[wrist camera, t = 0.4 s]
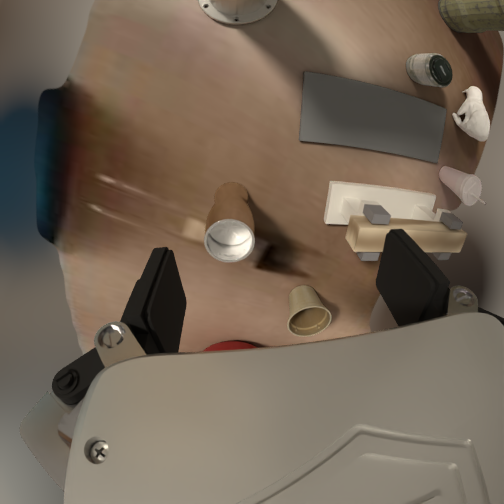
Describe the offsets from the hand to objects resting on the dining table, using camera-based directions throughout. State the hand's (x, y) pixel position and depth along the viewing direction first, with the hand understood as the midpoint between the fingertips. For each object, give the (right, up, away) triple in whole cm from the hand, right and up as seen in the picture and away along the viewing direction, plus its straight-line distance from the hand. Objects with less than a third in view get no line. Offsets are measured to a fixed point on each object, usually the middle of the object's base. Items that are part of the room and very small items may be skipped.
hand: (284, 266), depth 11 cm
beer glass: (-5, +10, +36) cm, 38 cm away
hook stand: (+25, +10, +38) cm, 46 cm away
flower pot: (+10, -9, +50) cm, 52 cm away
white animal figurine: (+43, +31, +26) cm, 59 cm away
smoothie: (+40, +17, +34) cm, 55 cm away
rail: (+25, +4, +30) cm, 39 cm away
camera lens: (+29, +34, +22) cm, 50 cm away
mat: (+22, +24, +28) cm, 43 cm away
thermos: (+40, +49, +13) cm, 65 cm away
